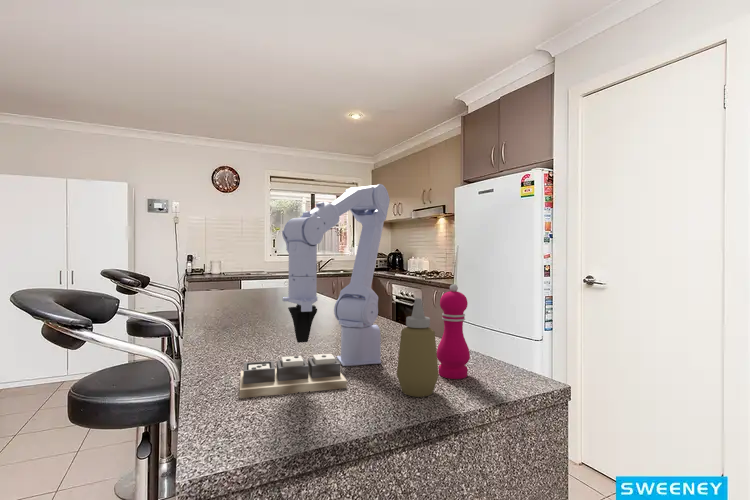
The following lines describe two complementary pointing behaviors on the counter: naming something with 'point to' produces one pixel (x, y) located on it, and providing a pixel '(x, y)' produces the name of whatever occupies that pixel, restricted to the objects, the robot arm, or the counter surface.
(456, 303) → the pepper mill
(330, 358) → the tile one
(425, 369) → the squeeze bottle
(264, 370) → the tile board
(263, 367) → the tile three
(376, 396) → the counter surface
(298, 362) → the tile two
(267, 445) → the counter surface
